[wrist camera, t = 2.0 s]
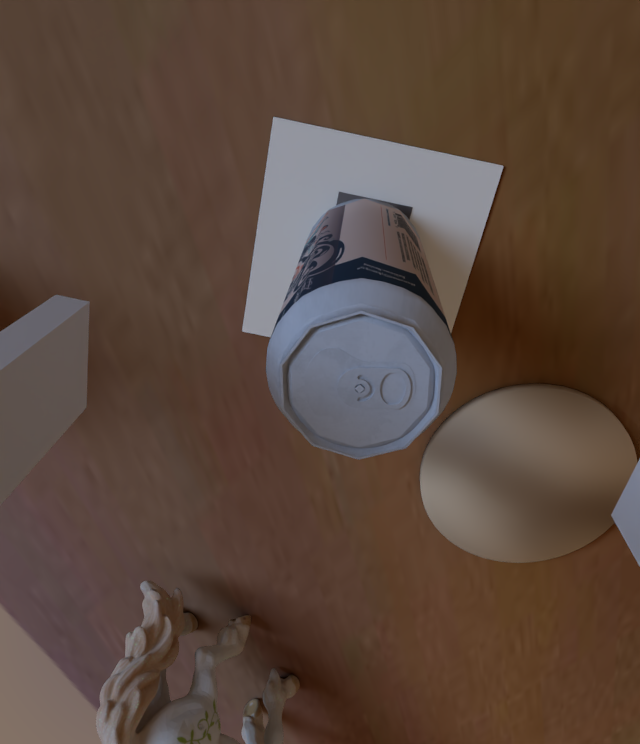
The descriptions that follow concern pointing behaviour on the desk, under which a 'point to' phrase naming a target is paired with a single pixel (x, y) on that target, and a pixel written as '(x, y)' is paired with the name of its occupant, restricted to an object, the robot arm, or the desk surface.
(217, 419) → the desk surface
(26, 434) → the robot arm
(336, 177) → the tile
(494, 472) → the cork coaster
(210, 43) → the desk surface
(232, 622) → the unicorn figurine
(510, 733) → the desk surface
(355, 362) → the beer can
